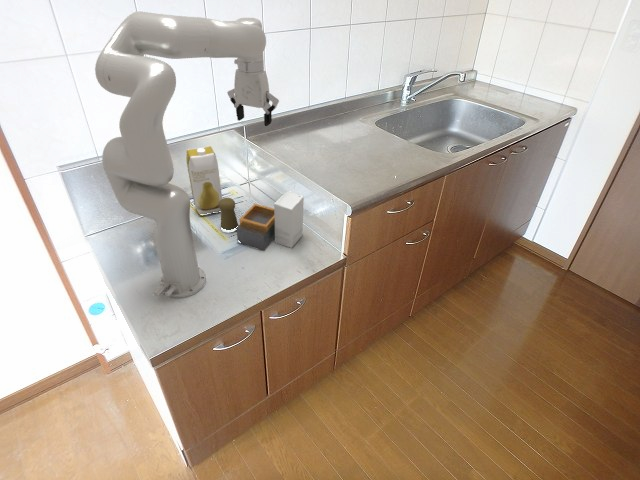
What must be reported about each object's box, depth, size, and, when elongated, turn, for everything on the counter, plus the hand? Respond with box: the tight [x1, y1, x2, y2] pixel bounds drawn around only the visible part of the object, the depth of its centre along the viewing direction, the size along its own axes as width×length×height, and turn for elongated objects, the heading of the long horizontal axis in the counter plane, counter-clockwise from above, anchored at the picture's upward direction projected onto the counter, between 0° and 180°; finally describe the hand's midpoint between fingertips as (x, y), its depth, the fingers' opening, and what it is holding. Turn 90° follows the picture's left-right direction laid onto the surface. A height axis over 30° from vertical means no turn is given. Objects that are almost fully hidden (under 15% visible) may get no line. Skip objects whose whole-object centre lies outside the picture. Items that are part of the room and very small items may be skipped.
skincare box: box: [273, 191, 305, 249], centre depth 130 cm, size 8×7×16 cm
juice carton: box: [186, 145, 223, 214], centre depth 139 cm, size 9×8×24 cm
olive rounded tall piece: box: [219, 197, 239, 230], centre depth 135 cm, size 6×6×11 cm
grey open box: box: [236, 203, 275, 252], centre depth 134 cm, size 14×10×8 cm
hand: (254, 121), depth 131 cm, fingers open, 9 cm apart
